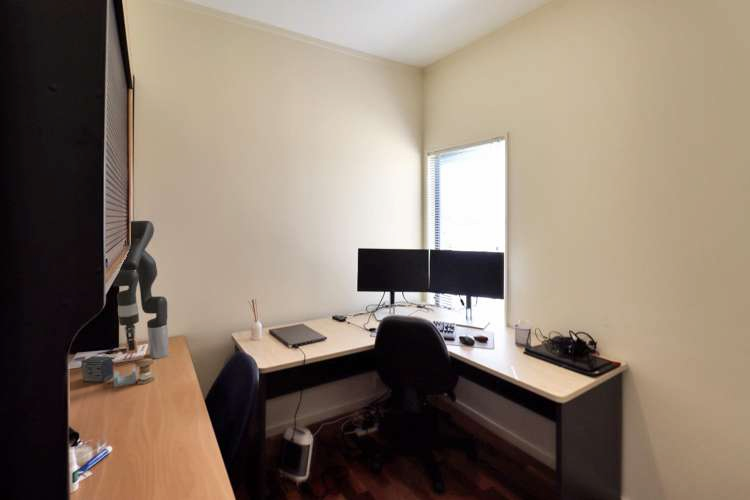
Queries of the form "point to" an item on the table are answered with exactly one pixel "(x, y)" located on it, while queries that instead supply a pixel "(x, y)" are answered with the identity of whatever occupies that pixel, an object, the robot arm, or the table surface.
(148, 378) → the bobbin
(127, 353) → the tan rectangular block
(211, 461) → the table surface
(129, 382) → the grey channel bracket
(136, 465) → the table surface
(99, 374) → the small box
